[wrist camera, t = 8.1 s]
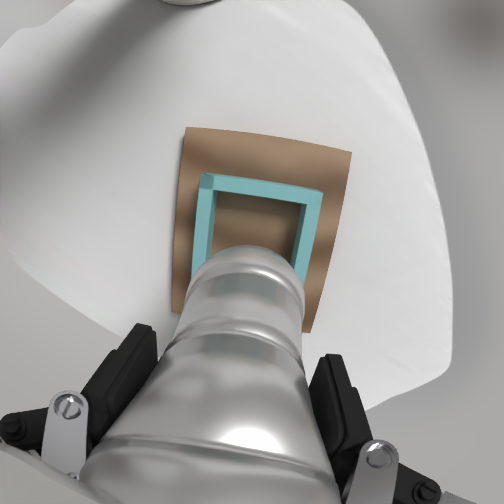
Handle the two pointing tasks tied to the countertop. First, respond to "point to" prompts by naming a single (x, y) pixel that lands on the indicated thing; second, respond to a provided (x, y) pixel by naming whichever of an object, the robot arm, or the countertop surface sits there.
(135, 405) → the silver aluminum bottle
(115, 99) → the countertop surface
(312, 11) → the countertop surface
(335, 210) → the walnut jig board
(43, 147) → the countertop surface
